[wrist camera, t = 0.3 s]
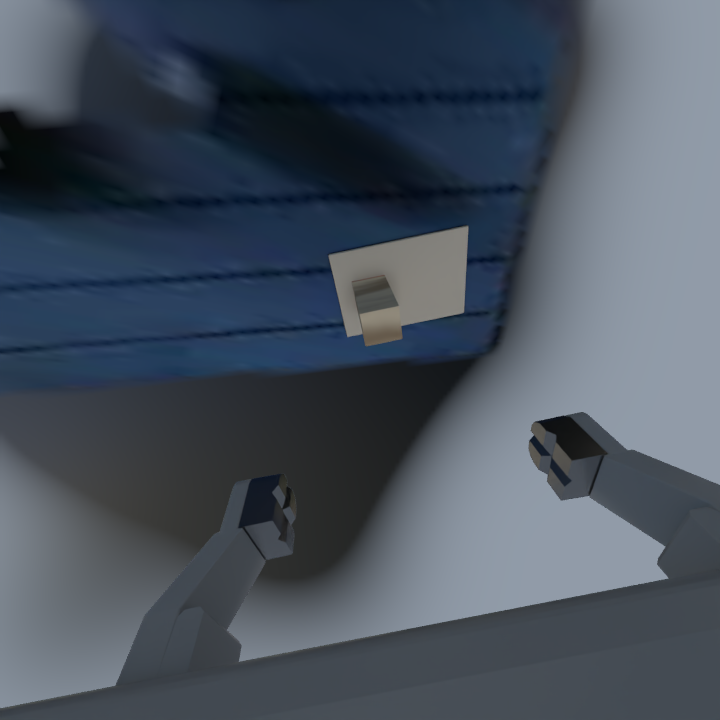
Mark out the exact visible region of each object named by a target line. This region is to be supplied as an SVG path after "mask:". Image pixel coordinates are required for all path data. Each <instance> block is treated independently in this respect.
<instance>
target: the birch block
mask: <svg viewBox="0 0 720 720" xmlns="http://www.w3.org/2000/svg"><path fill="white" fill-rule="evenodd" d="M352 286H353V291H354V296H355V301H356V306H357V311H358V315H359V320H360V324H361V328H362V333H363V337H364V341H365V345H366V346H370V345H375V344H379V343H384V342H389V341H394V340H399V339H402V330H401V320H400V310H399V305H398V302H397V300H396V298H395V296H394V294H393V292H392V290H391V288H390V285H389V283H388V281H387V279H386V277H385V275H381V276H376V277H371V278H367V279H362V280H357V281H352Z"/></svg>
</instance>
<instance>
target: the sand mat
mask: <svg viewBox="0 0 720 720" xmlns="http://www.w3.org/2000/svg"><path fill="white" fill-rule="evenodd" d="M467 241H468V226H467V225H466V226H461V227H456V228H452V229H447V230H442V231H437V232H433V233H428V234H423V235H418V236H414V237H409V238H404V239H399V240H394V241H390V242H385V243H380V244H375V245H371V246H366V247H361V248H356V249H352V250H347V251H342V252H337V253H333V254H328V255H329V260H330V264H331V268H332V273H333V277H334V281H335V286H336V290H337V294H338V298H339V303H340V307H341V311H342V316H343V320H344V324H345V329H346V333H347V337H349V336H354V335H359V334H363V333H362V328H361V324H360V320H359V315H358V311H357V306H356V301H355V296H354V291H353V286H352V281H357V280H362V279H367V278H371V277H376V276H381V275H385V277H386V279H387V281H388V283H389V285H390V288H391V290H392V292H393V294H394V296H395V298H396V300H397V302H398V305H399V310H400V320H401V326H402V325H407V324H412V323H417V322H422V321H427V320H431V319H436V318H441V317H446V316H451V315H455V314H460V313H464V300H465V281H466V261H467Z"/></svg>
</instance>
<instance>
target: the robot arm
mask: <svg viewBox="0 0 720 720" xmlns="http://www.w3.org/2000/svg"><path fill="white" fill-rule="evenodd" d="M531 431H532V433H533V434H534V436H533V437H532V438H531V439H530V441H529V451H530V456H531V458H532V460H533V462H534V463H535V465H536V466H537V468H538V469H539V470H540V471H542V472H544V473H546V474H548V478H547V482H548V483H549V485H550V486H551V487H552V489H553V490H554V491H555V493H556V494H557V496H558V497H559V498H560V500H567V499H573V498H579V497H584V496H590V498H592V499H593V500H595V501H596V502H598V503H599V504H601V505H603V506H604V507H605V508H607V509H609V510H610V511H612V512H613V513H615V514H616V515H618V516H619V517H621V518H623V519H624V520H626V521H627V522H629V523H630V524H632V525H633V526H635V527H637V528H638V529H639V530H641V531H642V532H644V533H646V534H647V535H649V536H650V537H652V538H653V539H655V540H656V541H658V542H659V543H661V544H663V545H664V546H666V547H665V549H664V550H663V552H662V554H661V555H660V557H659V558H658V563H657V565H658V566H659V567H660V568H661V569H662V571H663V572H664V573H665V574H666V575H667V576H668V578H669V579H665V580H659V581H654V582H649V583H644V584H638V585H633V586H628V587H623V588H618V589H613V590H607V591H602V592H597V593H592V594H587V595H582V596H576V597H572V598H566V599H561V600H556V601H551V602H546V603H540V604H535V605H530V606H525V607H520V608H515V609H510V610H504V611H499V612H494V613H489V614H484V615H479V616H473V617H468V618H463V619H458V620H453V621H448V622H442V623H437V624H432V625H427V626H422V627H416V628H411V629H407V630H401V631H396V632H391V633H386V634H380V635H375V636H371V637H365V638H360V639H355V640H349V641H345V642H339V643H334V644H329V645H324V646H319V647H313V648H309V649H303V650H298V651H293V652H288V653H282V654H277V655H272V656H267V657H262V658H257V659H252V660H246V661H242V662H239V657H240V651H241V644H240V643H239V641H238V640H237V639H236V638H235V637H234V636H233V635H231V634H230V633H229V632H228V631H227V629H228V627H229V625H230V623H231V622H232V620H233V618H234V616H235V615H236V613H237V611H238V609H239V608H240V606H241V604H242V603H243V601H244V599H245V597H246V596H247V594H248V592H249V590H250V589H251V587H252V585H253V583H254V582H255V580H256V578H257V576H258V575H259V573H260V571H261V569H262V567H263V566H264V564H265V562H266V561H265V560H268V559H272V558H277V557H281V556H285V555H290V554H292V553H293V542H294V530H293V528H292V526H291V524H292V523H293V521H294V520H295V518H296V500H295V496H294V493H293V490H292V489H291V488H289V487H288V486H287V478H286V476H285V475H284V474H277V475H271V476H266V477H260V478H254V479H250V480H244V481H239V482H236V484H235V485H234V487H233V490H232V493H231V496H230V500H229V503H228V507H227V510H226V513H225V516H224V519H223V523H222V526H221V529H220V532H219V533H215V534H214V535H213V536H212V537H211V539H210V540H209V541H208V542H207V543H206V544H205V546H204V547H203V548H202V549H201V550H200V551H199V553H198V554H197V555H196V556H195V557H194V558H193V560H192V561H191V562H190V563H189V564H188V565H187V567H186V568H185V569H184V570H183V571H182V572H181V574H180V575H179V576H178V577H177V578H176V579H175V581H174V582H173V583H172V584H171V585H170V586H169V588H168V589H167V590H166V591H165V592H164V594H163V595H162V596H161V597H160V598H159V599H158V600H157V602H156V603H155V604H154V605H153V606H152V607H151V609H150V610H149V611H148V612H147V613H146V614H145V616H144V618H143V621H142V623H141V625H140V628H139V630H138V633H137V635H136V638H135V640H134V642H133V645H132V647H131V650H130V652H129V654H128V657H127V659H126V662H125V664H124V666H123V669H122V671H121V674H120V676H119V679H118V681H117V683H116V686H112V687H107V688H102V689H97V690H93V691H87V692H82V693H77V694H72V695H67V696H61V697H56V698H51V699H46V700H41V701H36V702H31V703H26V704H20V705H16V706H10V707H5V708H0V720H720V485H718V484H716V483H713V482H711V481H709V480H706V479H704V478H701V477H699V476H696V475H694V474H691V473H689V472H686V471H684V470H681V469H679V468H677V467H674V466H671V465H669V464H667V463H664V462H662V461H659V460H657V459H654V458H652V457H650V456H647V455H644V454H642V453H640V452H637V451H635V450H626V449H625V448H624V447H623V446H622V445H621V444H620V443H619V442H618V441H616V440H615V439H614V438H613V437H612V436H611V435H610V434H609V433H608V432H606V431H605V430H604V429H603V428H602V427H601V426H600V425H599V424H598V423H597V422H595V421H594V420H593V419H592V418H591V417H590V416H589V415H588V414H586V413H584V412H580V413H575V414H571V415H566V416H560V417H555V418H550V419H546V420H541V421H536V422H534V423H533V424H532V427H531Z"/></svg>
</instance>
